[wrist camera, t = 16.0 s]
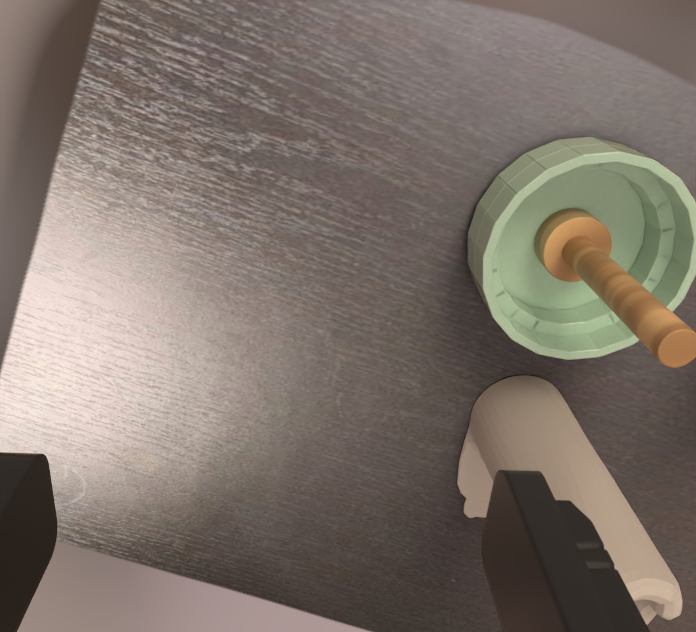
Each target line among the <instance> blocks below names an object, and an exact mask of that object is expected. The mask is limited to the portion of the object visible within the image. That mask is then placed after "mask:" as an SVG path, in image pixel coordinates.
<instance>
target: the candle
mask: <svg viewBox="0 0 696 632" xmlns="http://www.w3.org/2000/svg"><path fill="white" fill-rule="evenodd" d="M498 470H524V471H540V472H541V473H542V474H543V476H544V477H545V479H546V481H547V484H548V486H549V488H550V490H551V492H552V494H553V496H554V498H555V500H570V501H571V502H572V503H573V504H574V505H575V506H576V507H577V508H578V509H579V510H580V511H581V512H583V513H584V514H585V515H586V516H587V517H588V518H589V519H590V520H591V521H592V523H593V525H594V526H595V528H596V530H597V532H598V534H599V536H600V538H601V540H602V542H603V544H604V549H605V550H607V551H608V553H609V555H610V557H611V559H612V561H613V562H614V564H615V565H614V568H615V570H618V572H619V574H620V576H621V578H622V580H623V581H624V583H625V585H626V587H627V589H628V591H629V593H630V595H631V597H632V598H633V600H634V602H635V604H636V606H637V608H638V610H639V612H640V614H641V616H642V617H643V619H644V621H645V623H646V625H647V624H648V623H649V622H650V621H651V620H652V619H653V618H654V617H655V615H656V614H658V615H660V616H661V617H663V618H665V619H667V620H671V619H673V618H674V617H677V616H679V615H680V613H681V610H682V597H681V592H680V587H679V584H678V582H677V580H676V579H675V577H674V576H673V574H672V572H671V571H670V569H669V568H668V566H667V565H666V563H665V561H664V560H663V558H662V557H661V555H660V554H659V552H658V550H657V549H656V547H655V546H654V544H653V542H652V541H651V539H650V538H649V536H648V534H647V533H646V531H645V529H644V528H643V526H642V525H641V523H640V521H639V520H638V518H637V517H636V515H635V513H634V512H633V510H632V509H631V507H630V505H629V504H628V502H627V501H626V499H625V497H624V496H623V494H622V492H621V491H620V489H619V488H618V486H617V484H616V483H615V481H614V479H613V478H612V476H611V475H610V473H609V472H608V470H607V468H606V467H605V465H604V464H603V462H602V461H601V459H600V458H599V456H598V455H597V453H596V452H595V450H594V449H593V447H592V445H591V444H590V442H589V441H588V439H587V437H586V436H585V434H584V432H583V431H582V429H581V427H580V426H579V424H578V422H577V420H576V419H575V417H574V415H573V413H572V412H571V410H570V408H569V407H568V405H567V403H566V402H565V400H564V399H563V397H562V395H561V394H560V392H559V391H558V390H557V388H556V387H555V386H554V385H552V384H551V383H550V382H548V381H546V380H544V379H542V378H539V377H535V376H529V375H520V376H513V377H509V378H505V379H503V380H500V381H498V382H496V383H495V384H493V385H491V386H490V387H489V388H487V389H486V390H485V391H484V392H483V393H482V394H481V395H480V396H479V398H478V399H477V401H476V402H475V404H474V406H473V409H472V412H471V418H470V424H469V427H468V431H467V434H466V437H465V440H464V444H463V448H462V451H461V455H460V459H459V467H458V477H457V484H458V487H459V489H460V492H461V494H462V495H464V496H465V497H466V501H465V503H464V513H465V514H466V516H467V517H469V518H474V517H483V518H486V515H487V510H488V505H489V501H490V496H491V491H492V487H493V482H494V478H495V475H496V473H497V471H498Z"/></svg>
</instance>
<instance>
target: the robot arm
mask: <svg viewBox="0 0 696 632" xmlns="http://www.w3.org/2000/svg"><path fill="white" fill-rule="evenodd" d="M56 537H57V517H56V510H55V503H54V497H53V490H52V483H51V476H50V470H49V463H48V460H47V457H46V456H45V455H44V454H31V453H0V632H17V630H18V628H19V626H20V624H21V621H22V619H23V617H24V615H25V613H26V611H27V608H28V606H29V604H30V602H31V600H32V598H33V596H34V593H35V592H36V589H37V587H38V585H39V583H40V581H41V579H42V577H43V574H44V572H45V570H46V568H47V566H48V564H49V561H50V559H51V557H52V554H53V551H54V547H55V543H56ZM482 559H483V565H484V569H485V573H486V576H487V580H488V583H489V586H490V590H491V593H492V596H493V600H494V603H495V607H496V610H497V613H498V617H499V620H500V623H501V627H502V630H503V632H650V631H649V629H648V627H647V625H646V623H645V621H644V619H643V617H642V616H641V614H640V612H639V610H638V608H637V606H636V604H635V602H634V600H633V598H632V597H631V595H630V593H629V591H628V589H627V587H626V585H625V583H624V581H623V580H622V578H621V576H620V574H619V572H618V570H615V568H614V565H615V564H614V562H613V561H612V559H611V557H610V555H609V553H608V551H607V550H605V549H604V544H603V542H602V540H601V538H600V536H599V534H598V532H597V530H596V528H595V526H594V525H593V523H592V521H591V520H590V519H589V518H588V517H587V516H586V515H585V514H584V513H583V512H581V511H580V510H579V509H578V508H577V507H576V506H575V505H574V504H573V503H572V502H571V501H570V500H555V498H554V496H553V494H552V492H551V490H550V488H549V486H548V484H547V481H546V479H545V477H544V476H543V474H542V473H541V472H540V471H524V470H498V471H497V473H496V475H495V478H494V482H493V487H492V491H491V496H490V501H489V505H488V510H487V515H486V519H485V524H484V529H483V534H482Z"/></svg>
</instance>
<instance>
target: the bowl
mask: <svg viewBox="0 0 696 632" xmlns="http://www.w3.org/2000/svg"><path fill="white" fill-rule="evenodd" d="M569 208H576V209H581V210H584V211H587V212H588V213H590V214H591V215H593V216H594V217H595V218H596V219H598V220H599V221H600V222H601V223H603V224H604V225H605V226H606V228H607V229H608V231H609V233H610V235H611V239H612V249H611V253H610V256H609V257H611V258H612V259H613V260H614V261H615V262H616V263H617V264H619V265H620V266H621V267H622V268H623V269H624V270H625V271H626V272H628V273H629V274H630V275H631V276H632V277H633V278H634V279H635V280H637V281H638V282H639V283H640V284H641V285H642V286H643V287H645V288H646V289H647V290H648V291H649V292H650V293H651V294H652V295H654V296H655V297H656V298H657V299H658V300H659V301H660V302H661V303H663V304H664V305H665V306H666V307H667V308H668V309H669V310H671V311H672V312H673V311H674V310H675V309H676V307H677V306H678V305H679V304H680V303H681V302H682V300H683V299H684V298H685V295H686V293H687V291H688V289H689V287H690V285H691V283H692V281H693V279H694V277H695V275H696V202H695V200H694V199H693V197H692V195H691V194H690V192H689V191H688V189H687V188H686V186H685V184H684V183H683V181H682V180H681V179H680V177H678V176H677V175H675V174H674V173H672V172H671V171H669V170H668V169H667V168H665V167H664V166H662V165H661V164H659V163H658V162H657V161H655V160H653V159H651V158H649V157H647V156H645V155H643V154H641V153H639V152H637V151H635V150H633V149H631V148H629V147H627V146H624V145H622V144H619V143H615V142H611V141H607V140H603V139H599V138H595V137H581V138H570V139H559V140H556V141H553V142H551V143H548V144H546V145H544V146H541V147H539V148H536V149H534V150H531V151H529V152H527V153H525V154H523V155H522V156H521V157H519V158H518V159H517V160H516V161H514V162H513V163H512V164H511V165H509V166H508V167H507V168H506V169H505V170H503V171H502V172H501V173H500V174H498V176H497V177H496V178H495V180H494V181H493V182H492V184H491V185H490V187H489V188H488V190H487V191H486V192H485V194H484V195H483V197H482V198H481V200H480V201H479V203H478V204H477V207H476V210H475V213H474V216H473V219H472V222H471V225H470V228H469V231H468V266H469V268H470V271H471V274H472V277H473V279H474V282H475V285H476V288H477V290H478V292H479V294H480V295H481V297H482V299H483V301H484V303H485V304H486V306H487V308H488V310H489V312H490V313H491V315H492V317H493V319H494V320H495V321H496V322H497V323H498V324H499V326H500V327H501V328H502V329H503V330H504V331H505V333H506V334H507V335H508V336H509V337H510V338H511V339H512V340H513V341H515V342H517V343H518V344H520V345H522V346H524V347H526V348H527V349H529V350H531V351H533V352H535V353H536V354H539V355H545V356H550V357H555V358H560V359H565V360H573V359H584V358H594V357H601V356H604V355H607V354H609V353H612V352H615V351H618V350H620V349H623V348H626V347H629V346H631V345H633V344H635V343H636V342H638V341H639V339H638V338H637V337H636V336H635V335H634V334H633V333H632V332H631V330H630V329H629V328H628V327H627V326H626V325H625V324H624V323H623V322H622V321H621V320H620V319H619V318H618V317H617V316H616V315H615V314H614V312H613V311H612V310H611V309H610V308H609V307H608V306H607V305H606V304H605V303H604V302H603V301H602V300H601V299H600V298H599V297H598V296H597V294H596V293H595V292H594V291H593V290H592V289H591V288H590V287H589V286H588V285H587V284H586V283H585V282H584V281H579V282H565V281H561V280H559V279H557V278H555V277H553V276H552V275H551V274H550V273H549V272H548V271H547V269H546V268H545V267H544V266H543V265H542V264H541V262H540V261H539V260H538V258H537V256H536V253H535V248H534V242H535V237H536V234H537V231H538V229H539V227H540V226H541V225H542V223H543V222H544V221H545V220H546V219H547V218H548V217H549V216H551V215H552V214H554V213H556V212H558V211H561V210H564V209H569Z"/></svg>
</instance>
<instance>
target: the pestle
mask: <svg viewBox="0 0 696 632" xmlns="http://www.w3.org/2000/svg"><path fill="white" fill-rule="evenodd" d="M534 248H535V253H536V256H537V258H538V260H539V261H540V262H541V264H542V265H543V266H544V267H545V268H546V269H547V271H548V272H549V273H550V274H551V275H552V276H553V277H555V278H557V279H559V280H561V281H565V282H579V281H584V282H585V283H586V284H587V285H588V286H589V287H590V288H591V289H592V290H593V291H594V292H595V293H596V294H597V296H598V297H599V298H600V299H601V300H602V301H603V302H604V303H605V304H606V305H607V306H608V307H609V308H610V309H611V310H612V311H613V312H614V314H615V315H616V316H617V317H618V318H619V319H620V320H621V321H622V322H623V323H624V324H625V325H626V326H627V327H628V328H629V329H630V330H631V332H632V333H633V334H634V335H635V336H636V337H637V338H638V339H639V340H640V341H641V342H642V343H643V344H644V345H645V346H646V347H647V348H648V350H649V351H650V352H651V353H652V354H653V355H654V356H655V357H656V358H657V359H658V360H659V361H660V362H661V363H662V364H663V365H665V366H668V367H681V366H684V365H686V364H688V363H689V362H691V361H692V360H693V359H694V358H695V357H696V333H695V332H694V331H693V330H692V329H691V328H690V327H689V326H688V325H686V324H685V323H684V322H683V321H682V320H681V319H680V318H678V317H677V316H676V315H675V314H674V313H673V312H672V311H671V310H669V309H668V308H667V307H666V306H665V305H664V304H663V303H661V302H660V301H659V300H658V299H657V298H656V297H655V296H654V295H652V294H651V293H650V292H649V291H648V290H647V289H646V288H645V287H643V286H642V285H641V284H640V283H639V282H638V281H637V280H635V279H634V278H633V277H632V276H631V275H630V274H629V273H628V272H626V271H625V270H624V269H623V268H622V267H621V266H620V265H619V264H617V263H616V262H615V261H614V260H613V259H612V258H611V257H609V256H610V253H611V249H612V239H611V235H610V233H609V231H608V229H607V228H606V226H605V225H604V224H603V223H601V222H600V221H599V220H598V219H596V218H595V217H594V216H593V215H591V214H590V213H588V212H587V211H584V210H581V209H576V208H569V209H564V210H561V211H558V212H556V213H554V214H552V215H551V216H549V217H548V218H547V219H546V220H545V221H544V222H543V223H542V225H541V226H540V227H539V229H538V231H537V234H536V237H535V242H534Z"/></svg>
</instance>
